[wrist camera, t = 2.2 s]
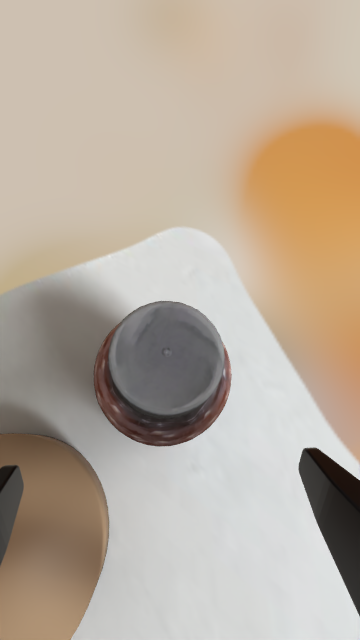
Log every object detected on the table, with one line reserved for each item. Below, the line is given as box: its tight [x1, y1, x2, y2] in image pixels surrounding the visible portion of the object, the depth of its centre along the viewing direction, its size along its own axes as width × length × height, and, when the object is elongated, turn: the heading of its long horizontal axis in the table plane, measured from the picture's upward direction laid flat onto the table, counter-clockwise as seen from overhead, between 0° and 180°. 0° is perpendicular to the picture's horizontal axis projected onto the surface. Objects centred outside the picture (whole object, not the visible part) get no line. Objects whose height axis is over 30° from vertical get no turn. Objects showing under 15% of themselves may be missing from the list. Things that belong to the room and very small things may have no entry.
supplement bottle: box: [94, 301, 231, 446], centre depth 15 cm, size 6×6×11 cm
